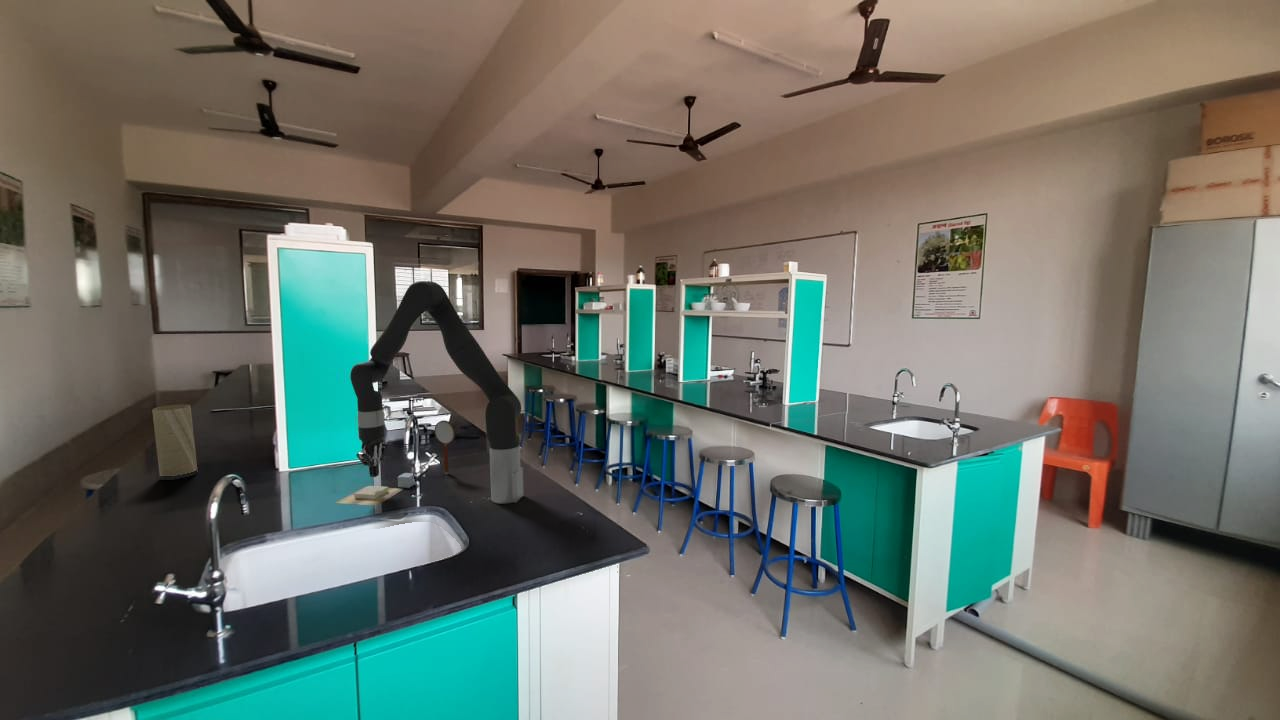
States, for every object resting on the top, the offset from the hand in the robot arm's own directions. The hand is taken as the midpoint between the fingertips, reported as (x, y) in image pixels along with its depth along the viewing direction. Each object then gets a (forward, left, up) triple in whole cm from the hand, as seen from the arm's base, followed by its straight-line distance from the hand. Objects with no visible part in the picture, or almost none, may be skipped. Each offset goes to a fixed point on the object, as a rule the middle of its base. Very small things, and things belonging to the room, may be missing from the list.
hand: (374, 476), depth 167 cm
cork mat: (0, +2, -6) cm, 6 cm away
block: (-6, -8, -6) cm, 12 cm away
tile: (0, -2, -5) cm, 5 cm away
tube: (+80, -6, -6) cm, 81 cm away
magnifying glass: (-14, -20, -6) cm, 25 cm away
